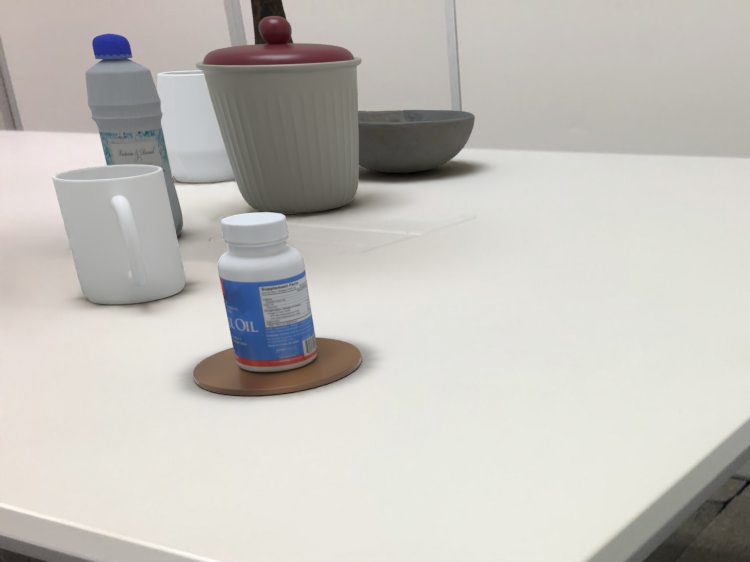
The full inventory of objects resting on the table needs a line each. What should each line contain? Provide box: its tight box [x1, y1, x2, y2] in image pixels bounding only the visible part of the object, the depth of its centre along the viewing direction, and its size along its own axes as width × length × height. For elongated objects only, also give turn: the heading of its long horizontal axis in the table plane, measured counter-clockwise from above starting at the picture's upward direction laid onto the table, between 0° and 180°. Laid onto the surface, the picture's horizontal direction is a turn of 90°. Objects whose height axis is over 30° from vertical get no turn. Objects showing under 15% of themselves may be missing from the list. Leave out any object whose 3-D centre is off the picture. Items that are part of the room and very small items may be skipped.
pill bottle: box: [217, 211, 317, 372], centre depth 67 cm, size 6×5×10 cm
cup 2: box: [156, 69, 235, 184], centre depth 141 cm, size 13×13×14 cm
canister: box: [195, 16, 362, 214], centre depth 118 cm, size 18×18×21 cm
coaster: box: [192, 336, 362, 397], centre depth 70 cm, size 11×11×1 cm
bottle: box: [84, 33, 184, 237], centre depth 104 cm, size 7×7×20 cm
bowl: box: [358, 109, 476, 174], centre depth 144 cm, size 21×21×8 cm
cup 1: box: [51, 165, 186, 305], centre depth 84 cm, size 8×12×10 cm
